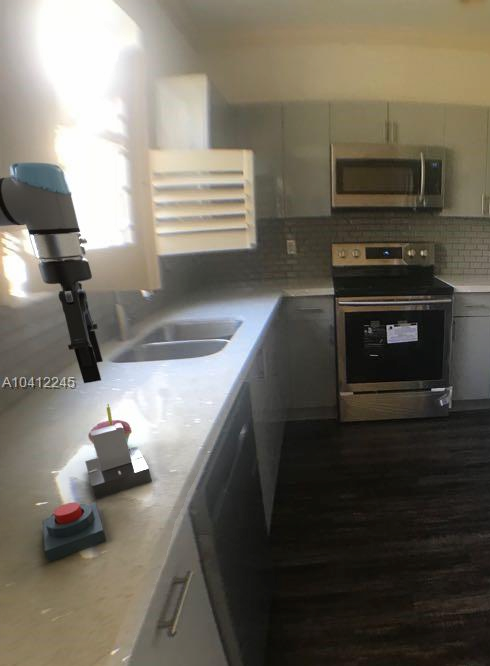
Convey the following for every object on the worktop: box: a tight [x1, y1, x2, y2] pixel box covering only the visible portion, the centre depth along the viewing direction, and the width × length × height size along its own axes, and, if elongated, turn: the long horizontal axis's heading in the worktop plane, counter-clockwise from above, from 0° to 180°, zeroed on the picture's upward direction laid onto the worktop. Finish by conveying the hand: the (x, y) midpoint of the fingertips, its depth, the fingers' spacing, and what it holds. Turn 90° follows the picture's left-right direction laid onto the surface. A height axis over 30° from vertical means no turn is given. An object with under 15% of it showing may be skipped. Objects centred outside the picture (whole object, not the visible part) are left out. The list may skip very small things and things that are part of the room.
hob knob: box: [89, 423, 132, 471], centre depth 92 cm, size 6×3×8 cm, turn 127°
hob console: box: [85, 446, 153, 500], centre depth 94 cm, size 12×10×3 cm
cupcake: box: [87, 403, 132, 445], centre depth 104 cm, size 9×8×12 cm
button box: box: [42, 501, 107, 563], centre depth 77 cm, size 10×8×4 cm
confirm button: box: [53, 501, 82, 524], centre depth 76 cm, size 4×4×2 cm
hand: (94, 371), depth 89 cm, fingers open, 13 cm apart
